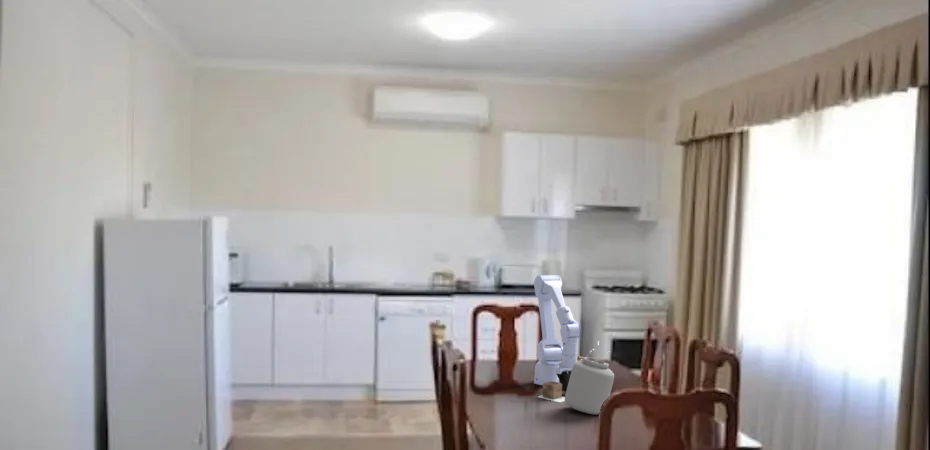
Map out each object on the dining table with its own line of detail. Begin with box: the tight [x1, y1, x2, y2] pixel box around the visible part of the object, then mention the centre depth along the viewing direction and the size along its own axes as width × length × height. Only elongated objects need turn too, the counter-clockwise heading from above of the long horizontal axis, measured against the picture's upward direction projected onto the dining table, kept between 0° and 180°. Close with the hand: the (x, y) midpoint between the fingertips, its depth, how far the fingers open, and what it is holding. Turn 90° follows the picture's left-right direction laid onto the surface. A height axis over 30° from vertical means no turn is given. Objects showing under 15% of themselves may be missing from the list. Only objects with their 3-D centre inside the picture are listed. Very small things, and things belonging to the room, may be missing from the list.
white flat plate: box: [537, 394, 565, 404], centre depth 278 cm, size 10×7×1 cm
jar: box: [564, 341, 615, 416], centre depth 261 cm, size 19×15×25 cm
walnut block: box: [542, 381, 563, 399], centre depth 278 cm, size 5×5×5 cm
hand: (568, 389), depth 286 cm, fingers open, 5 cm apart
